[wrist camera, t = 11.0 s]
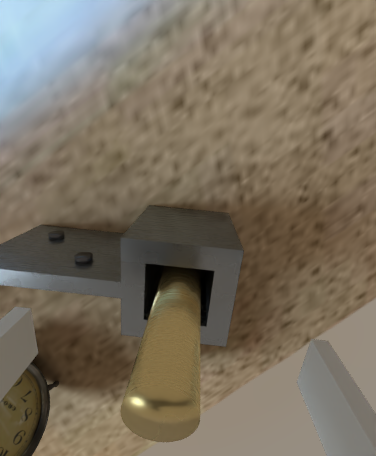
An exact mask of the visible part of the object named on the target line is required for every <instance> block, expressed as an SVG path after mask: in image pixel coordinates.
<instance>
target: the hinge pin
mask: <svg viewBox="0 0 376 456" xmlns="http://www.w3.org/2000/svg"><path fill="white" fill-rule="evenodd" d="M200 310H201V269H194V268H184V267H175V266H164V269H163V272H162V276H161V279H160V282H159V285H158V289H157V292H156V295H155V298H154V302H153V305H152V308H151V311H150V315H149V318H148V321H147V324H146V328H145V331H144V334H143V338H142V341H141V344H140V347H139V351H138V354H137V357H136V360H135V364H134V367H133V370H132V373H131V377H130V380H129V383H128V386H127V390H126V393H125V396H124V399H123V403H122V406H121V417H122V420H123V422H124V423H125V425H126V426H127V427H128V428H129V429H130V430H131V431H132V432H133V433H135V434H137V435H138V436H140V437H142V438H145V439H148V440H152V441H157V442H173V441H178V440H182V439H184V438H186V437H188V436H190V435H191V434H192V433H193V432H194V431H195V430H196V429H197V427H198V425H199V422H200Z"/></svg>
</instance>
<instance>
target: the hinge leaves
mask: <svg viewBox="0 0 376 456" xmlns="http://www.w3.org/2000/svg"><path fill="white" fill-rule="evenodd" d="M243 252H244V250H243V248H242V245H241V243H240V240H239V238H238V235H237V233H236V230H235V228H234V225H233V223H232V221H231V218H230V216H229V213H220V212H210V211H201V210H191V209H181V208H171V207H161V206H151V205H149V206H148V207H147V208H146V210H145V211H144V212H143V213H142V214H141V215H140V216H139V218H138V219H137V220H136V221H135V222H134V223H133V224H132V225H131V227H130V228H129V229H128V230H127V231H126V232H125V233H114V232H104V231H95V230H85V229H75V228H66V227H56V226H46V225H39V226H37V227H35V228H33V229H31V230H29V231H27V232H25V233H23V234H21V235H19V236H17V237H15V238H13V239H11V240H9V241H7V242H5V243H3V244H0V285H5V286H14V287H23V288H32V289H41V290H51V291H60V292H69V293H78V294H87V295H96V296H105V297H115V298H121V335H127V336H136V337H143V334H144V331H145V328H146V324H147V321H148V318H149V315H150V311H151V308H152V305H153V302H154V298H155V295H156V292H157V289H158V285H159V282H160V279H161V276H162V272H163V269H164V266H175V267H184V268H194V269H201V310H200V344H207V345H216V346H225V347H226V344H227V338H228V333H229V327H230V322H231V317H232V311H233V306H234V301H235V295H236V290H237V284H238V279H239V274H240V268H241V263H242V257H243Z"/></svg>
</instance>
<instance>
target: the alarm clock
mask: <svg viewBox="0 0 376 456" xmlns="http://www.w3.org/2000/svg"><path fill="white" fill-rule="evenodd" d="M58 385H59V382H58V381H55V382H54V383H53V384H50V385H47V382H46V379H45V377H44V376H43V374H42V372H41V371H40V370H39V368H38V367H37V366H36V365H34V364H33V363H32V362H31V363H30V364H29V366H28V367H27V368H26V369H25V371H24V372H23V373H22V375H21V376H20V377H19V378H18V380H17V381H16V382H15V383H14V385H13V386H12V387H11V389H10V390H9V391H8V392H7V394H6V395H5V396H4V398H3V399H2V400H1V401H0V456H32V454H33V453H34V451H35V450H36V448H37V446H38V444H39V442H40V440H41V438H42V436H43V433H44V430H45V428H46V424H47V421H48V416H49V410H50V395H49V390H51V389H52V388H53V387H57V386H58Z"/></svg>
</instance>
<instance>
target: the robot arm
mask: <svg viewBox="0 0 376 456" xmlns="http://www.w3.org/2000/svg"><path fill="white" fill-rule="evenodd" d="M37 354H38V348H37V342H36V336H35V329H34V323H33V317H32V311H31V308H22V307H14V308H13V309H12V310H11V311H10V312H8V313H7V314H6V315H5V316H4V317H3V318H2V319H0V401H1V400H2V399H3V398H4V396H5V395H6V394H7V392H8V391H9V390H10V389H11V387H12V386H13V385H14V383H15V382H16V381H17V380H18V378H19V377H20V376H21V375H22V373H23V372H24V371H25V369H26V368H27V367H28V366H29V364H30V363H31V362H32V361H33V359H34V358H35V357H36V355H37ZM297 384H298V386H299V389H300V391H301V394H302V396H303V399H304V401H305V404H306V406H307V408H308V411H309V413H310V416H311V418H312V421H313V423H314V426H315V428H316V430H317V433H318V435H319V438H320V440H321V443H322V445H323V448H324V450H325V453H326V455H327V456H376V414H375V412H374V410H373V409H372V407H371V406H370V404H369V403H368V401H367V400H366V398H365V396H364V395H363V394H362V392H361V390H360V389H359V387H358V386H357V384H356V383H355V381H354V380H353V378H352V377H351V375H350V374H349V372H348V371H347V369H346V368H345V366H344V365H343V363H342V361H341V360H340V358H339V357H338V355H337V354H336V352H335V351H334V349H333V348H332V346H331V345H330V343H329V342H328V341H324V340H315V339H311V342H310V345H309V348H308V350H307V353H306V356H305V359H304V362H303V366H302V368H301V371H300V374H299V377H298V380H297Z"/></svg>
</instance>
